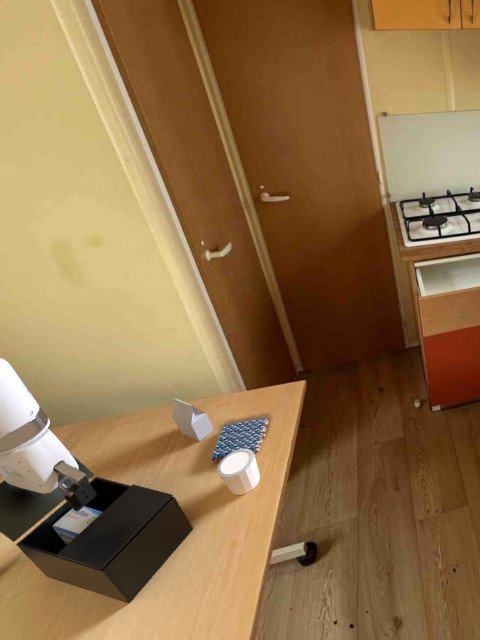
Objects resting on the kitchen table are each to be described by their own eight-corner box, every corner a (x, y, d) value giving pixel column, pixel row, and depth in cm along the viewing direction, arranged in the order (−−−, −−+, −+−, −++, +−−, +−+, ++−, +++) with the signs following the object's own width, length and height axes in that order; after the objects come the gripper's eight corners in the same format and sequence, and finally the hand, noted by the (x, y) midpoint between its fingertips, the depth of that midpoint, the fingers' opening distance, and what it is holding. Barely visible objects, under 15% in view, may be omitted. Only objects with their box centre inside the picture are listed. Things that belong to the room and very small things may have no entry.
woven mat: (270, 419, 108) (268, 414, 107) (260, 455, 99) (257, 449, 98) (225, 428, 106) (222, 422, 105) (210, 465, 96) (207, 459, 95)
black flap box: (46, 576, 77) (13, 541, 71) (118, 508, 88) (94, 473, 82) (129, 603, 73) (100, 568, 68) (193, 528, 84) (172, 494, 79)
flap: (14, 541, 71) (13, 541, 72) (94, 474, 82) (93, 474, 82) (-32, 506, 68) (-33, 507, 68) (58, 441, 79) (57, 441, 79)
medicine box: (72, 553, 80) (49, 526, 76) (98, 529, 83) (77, 502, 79) (105, 564, 78) (83, 537, 74) (129, 539, 82) (109, 512, 78)
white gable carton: (199, 441, 102) (185, 412, 97) (180, 433, 104) (165, 404, 100) (214, 429, 105) (200, 400, 100) (195, 421, 107) (181, 393, 103)
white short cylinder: (269, 477, 94) (260, 457, 91) (238, 503, 89) (228, 482, 85) (251, 463, 97) (242, 443, 94) (220, 488, 92) (210, 467, 88)
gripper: (-61, 438, 64) (0, 506, 72) (24, 461, 61) (79, 529, 69) (1, 401, 71) (51, 467, 79) (81, 420, 68) (125, 487, 76)
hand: (64, 496), depth 74 cm, fingers open, 9 cm apart
